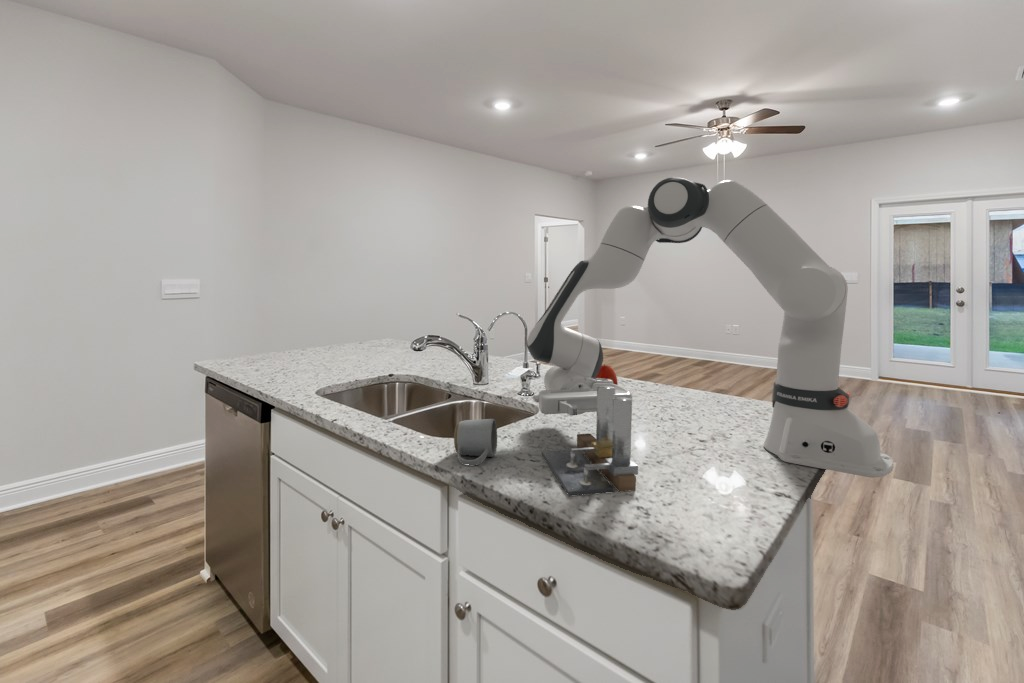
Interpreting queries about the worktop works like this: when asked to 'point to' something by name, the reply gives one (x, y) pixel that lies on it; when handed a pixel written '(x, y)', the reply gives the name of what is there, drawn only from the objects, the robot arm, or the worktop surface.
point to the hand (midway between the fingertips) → (596, 410)
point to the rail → (618, 481)
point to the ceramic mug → (475, 439)
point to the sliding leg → (601, 425)
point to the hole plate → (575, 473)
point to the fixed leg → (619, 442)
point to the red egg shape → (607, 374)
